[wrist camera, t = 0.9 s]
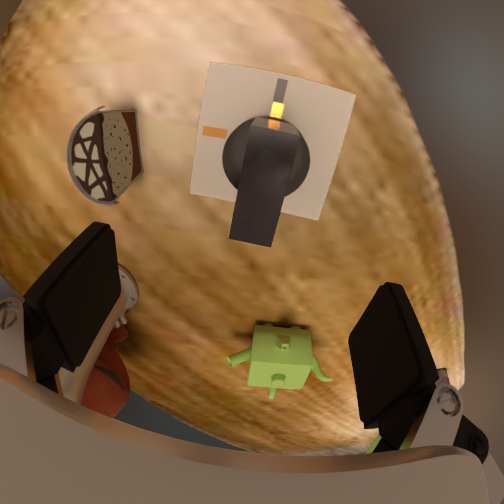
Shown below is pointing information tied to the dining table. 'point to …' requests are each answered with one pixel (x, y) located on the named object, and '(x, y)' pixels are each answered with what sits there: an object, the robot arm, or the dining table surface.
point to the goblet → (108, 378)
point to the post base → (259, 103)
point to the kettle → (279, 358)
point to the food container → (105, 154)
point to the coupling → (263, 172)
